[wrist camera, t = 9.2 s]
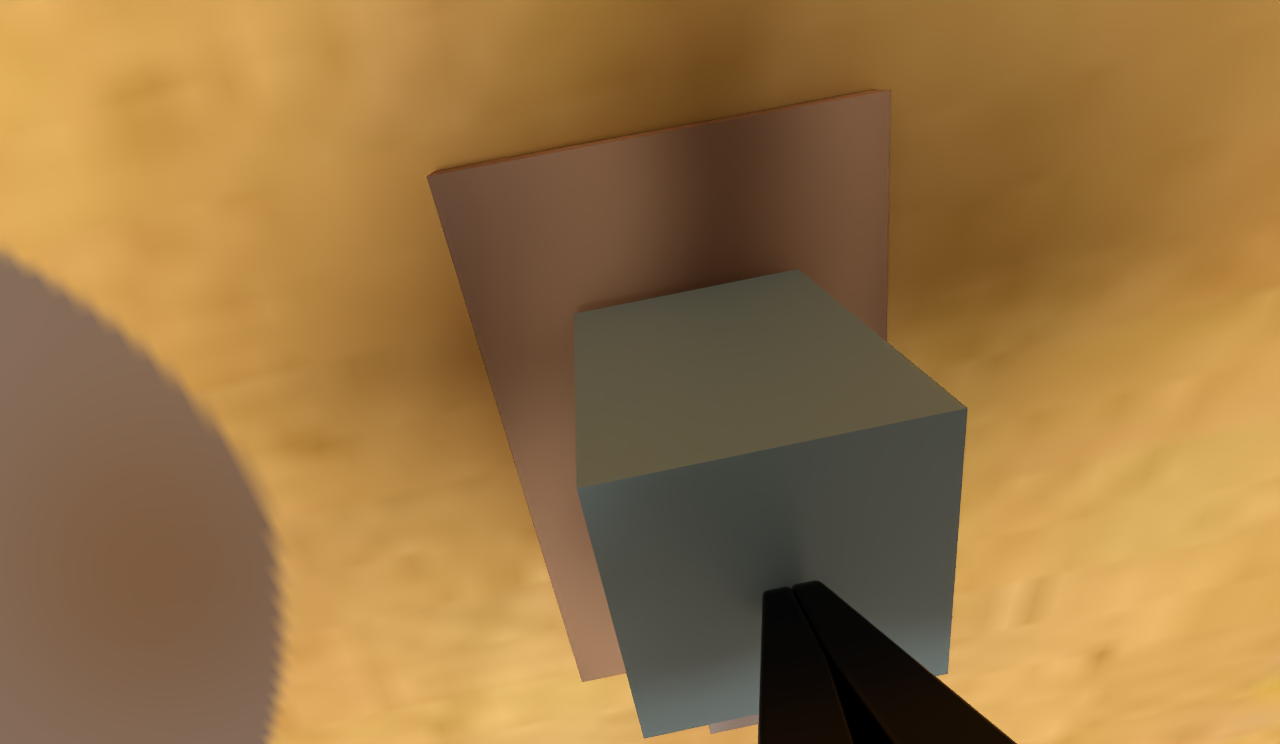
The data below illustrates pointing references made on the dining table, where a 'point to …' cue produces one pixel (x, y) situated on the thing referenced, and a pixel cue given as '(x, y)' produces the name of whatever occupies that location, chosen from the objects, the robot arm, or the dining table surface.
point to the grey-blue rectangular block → (757, 483)
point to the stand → (650, 274)
